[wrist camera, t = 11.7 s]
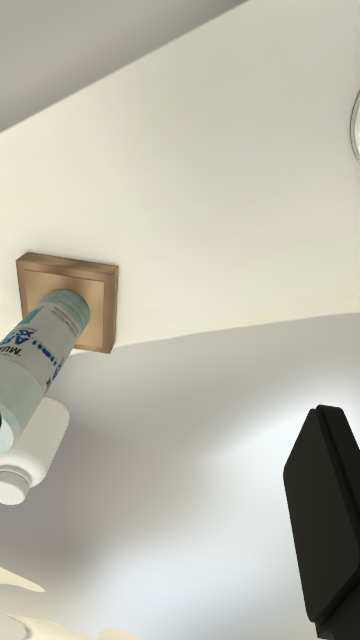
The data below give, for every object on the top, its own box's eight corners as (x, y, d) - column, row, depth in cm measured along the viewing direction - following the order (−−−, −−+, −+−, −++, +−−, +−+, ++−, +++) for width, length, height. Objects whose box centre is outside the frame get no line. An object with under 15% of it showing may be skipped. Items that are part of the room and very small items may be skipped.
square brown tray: (118, 266, 44) (112, 276, 41) (115, 341, 50) (109, 354, 48) (27, 252, 44) (14, 261, 41) (34, 329, 50) (24, 341, 47)
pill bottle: (73, 430, 61) (36, 514, 48) (29, 425, 61) (-19, 507, 48) (69, 397, 57) (28, 479, 44) (22, 392, 57) (-33, 472, 44)
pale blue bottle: (65, 338, 47) (-20, 465, 29) (31, 302, 44) (-83, 417, 27) (101, 317, 45) (32, 441, 27) (68, 278, 42) (-31, 387, 25)
